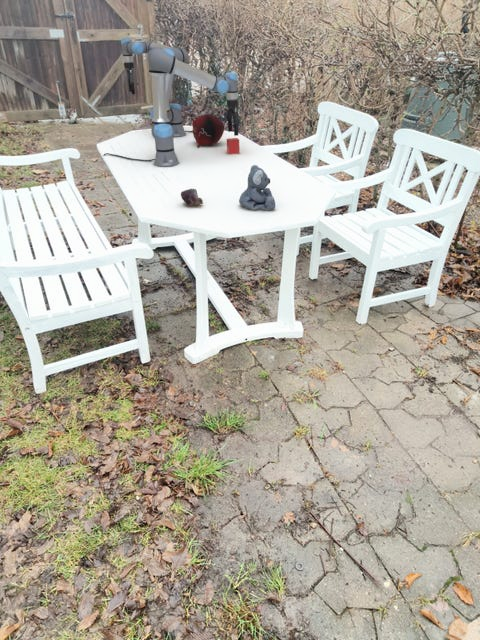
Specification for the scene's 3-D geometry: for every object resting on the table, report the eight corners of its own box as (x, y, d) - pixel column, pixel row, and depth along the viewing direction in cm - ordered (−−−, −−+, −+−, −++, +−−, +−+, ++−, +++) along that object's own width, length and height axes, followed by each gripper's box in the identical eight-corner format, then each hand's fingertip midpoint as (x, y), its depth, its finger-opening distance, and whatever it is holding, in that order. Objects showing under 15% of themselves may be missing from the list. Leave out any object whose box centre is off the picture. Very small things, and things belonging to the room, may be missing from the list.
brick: (239, 153, 315) (239, 139, 310) (228, 154, 313) (228, 140, 308) (237, 151, 319) (236, 137, 313) (226, 152, 317) (226, 138, 311)
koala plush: (276, 211, 223) (277, 171, 212) (240, 212, 222) (240, 172, 211) (271, 199, 237) (272, 161, 226) (237, 200, 236) (237, 162, 225)
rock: (196, 202, 238) (178, 205, 233) (194, 185, 234) (176, 188, 230) (205, 205, 228) (187, 208, 224) (203, 188, 224) (185, 191, 220)
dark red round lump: (190, 120, 341) (188, 116, 317) (221, 113, 340) (220, 109, 316) (197, 149, 348) (195, 148, 324) (227, 142, 347) (227, 141, 323)
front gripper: (243, 101, 288) (244, 136, 300) (231, 96, 307) (232, 129, 319) (232, 102, 286) (233, 137, 298) (221, 97, 305) (222, 130, 317)
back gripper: (135, 63, 335) (139, 95, 347) (131, 60, 354) (134, 90, 367) (125, 63, 333) (129, 95, 345) (121, 60, 352) (125, 90, 365)
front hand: (233, 133), depth 309 cm, fingers open, 13 cm apart
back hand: (132, 93), depth 356 cm, fingers open, 13 cm apart
